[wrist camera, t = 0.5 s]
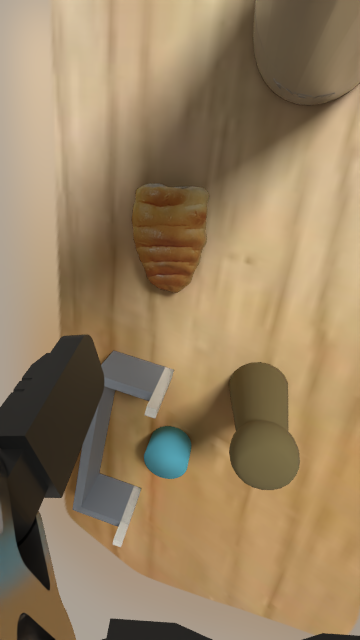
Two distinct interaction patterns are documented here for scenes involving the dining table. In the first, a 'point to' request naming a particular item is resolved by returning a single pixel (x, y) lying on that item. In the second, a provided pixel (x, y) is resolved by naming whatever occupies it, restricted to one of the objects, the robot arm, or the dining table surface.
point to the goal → (92, 487)
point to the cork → (262, 428)
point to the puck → (168, 452)
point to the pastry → (170, 232)
